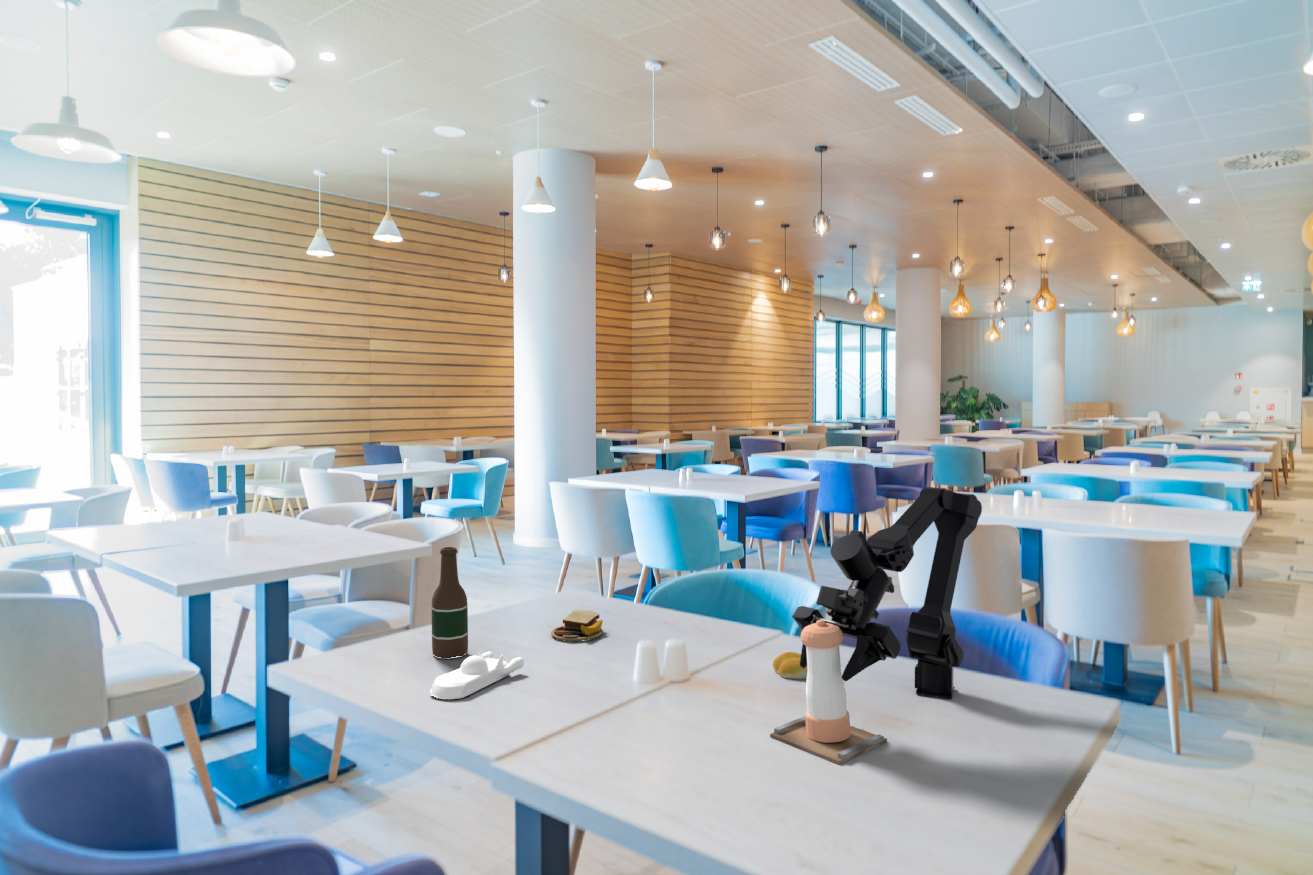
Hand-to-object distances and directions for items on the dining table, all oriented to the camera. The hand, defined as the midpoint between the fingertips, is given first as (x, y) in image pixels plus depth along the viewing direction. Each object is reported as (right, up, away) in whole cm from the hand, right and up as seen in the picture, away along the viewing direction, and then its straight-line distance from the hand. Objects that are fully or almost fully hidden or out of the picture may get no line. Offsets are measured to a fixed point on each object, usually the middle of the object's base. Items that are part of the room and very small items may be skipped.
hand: (822, 673), depth 134 cm
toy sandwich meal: (-47, -10, +64) cm, 80 cm away
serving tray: (+1, -11, +2) cm, 12 cm away
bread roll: (+1, -10, +36) cm, 37 cm away
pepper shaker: (+1, -11, +2) cm, 11 cm away
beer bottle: (-73, -10, +48) cm, 88 cm away
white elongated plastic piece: (-64, -11, +29) cm, 71 cm away
